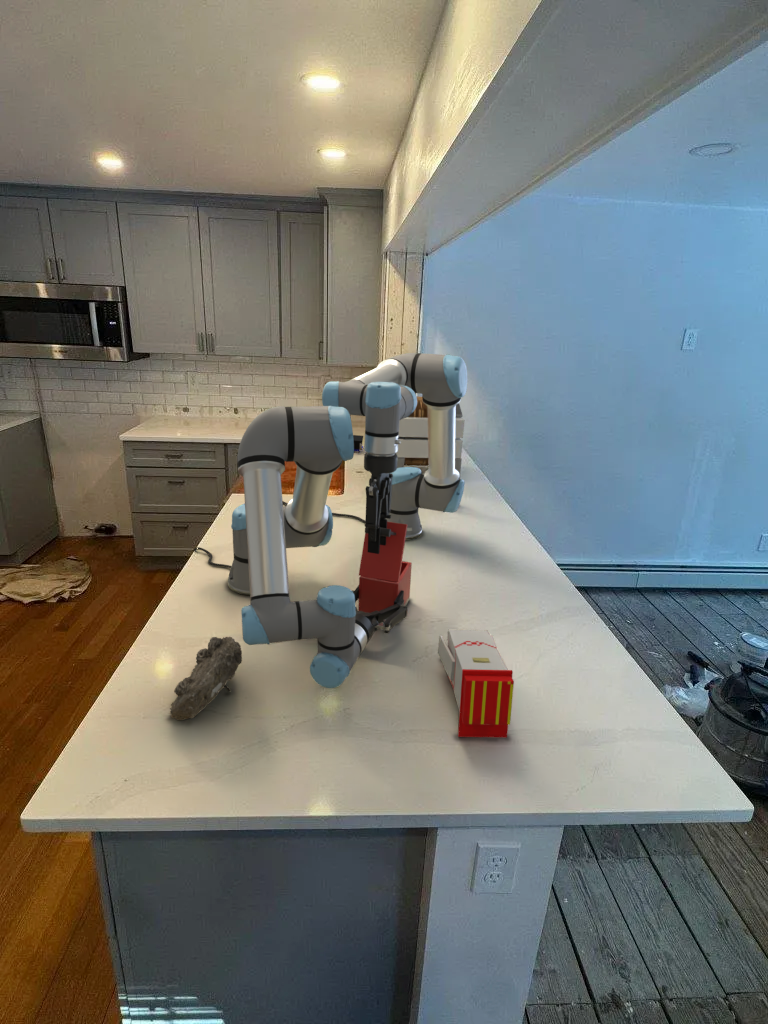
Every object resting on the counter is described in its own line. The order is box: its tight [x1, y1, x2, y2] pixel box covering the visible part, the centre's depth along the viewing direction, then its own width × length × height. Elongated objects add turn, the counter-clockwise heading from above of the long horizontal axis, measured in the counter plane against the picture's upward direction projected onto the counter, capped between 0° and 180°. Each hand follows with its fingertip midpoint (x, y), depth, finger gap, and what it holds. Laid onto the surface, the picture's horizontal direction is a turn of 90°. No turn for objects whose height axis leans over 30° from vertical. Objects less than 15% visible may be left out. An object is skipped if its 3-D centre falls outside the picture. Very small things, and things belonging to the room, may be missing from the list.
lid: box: [358, 522, 408, 582], centre depth 137 cm, size 14×10×9 cm
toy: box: [437, 628, 515, 738], centre depth 117 cm, size 12×13×30 cm
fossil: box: [169, 636, 243, 721], centre depth 114 cm, size 22×10×15 cm
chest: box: [357, 560, 413, 613], centre depth 149 cm, size 14×10×11 cm
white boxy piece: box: [395, 395, 465, 479], centre depth 268 cm, size 34×33×41 cm
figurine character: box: [353, 434, 364, 454], centre depth 311 cm, size 7×8×15 cm
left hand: (381, 591), depth 145 cm, fingers closed on chest, 10 cm apart
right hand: (377, 548), depth 135 cm, fingers open, 5 cm apart
